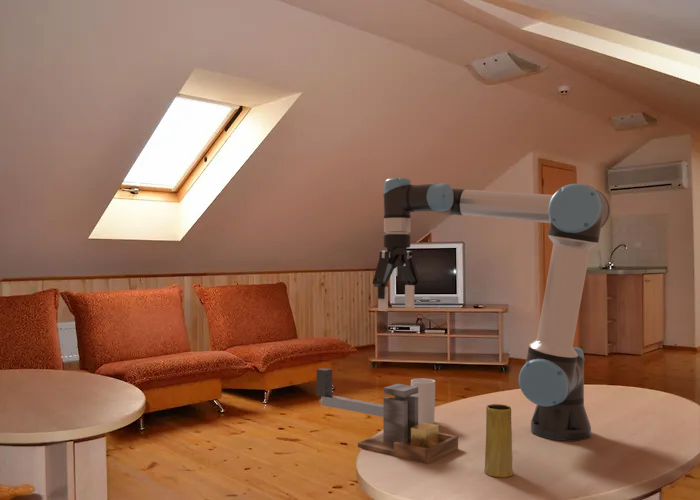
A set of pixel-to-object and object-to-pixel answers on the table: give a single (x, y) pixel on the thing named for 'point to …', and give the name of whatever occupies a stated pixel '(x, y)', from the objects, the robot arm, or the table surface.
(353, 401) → the grey l-shaped bar
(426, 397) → the mug
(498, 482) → the table surface
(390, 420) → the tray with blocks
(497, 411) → the vase
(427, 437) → the spacer
